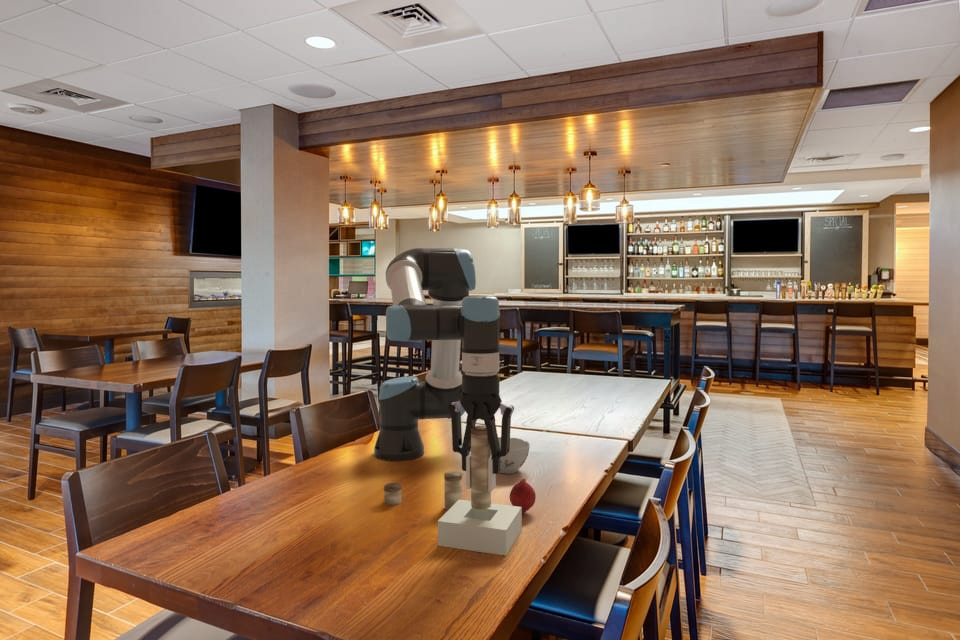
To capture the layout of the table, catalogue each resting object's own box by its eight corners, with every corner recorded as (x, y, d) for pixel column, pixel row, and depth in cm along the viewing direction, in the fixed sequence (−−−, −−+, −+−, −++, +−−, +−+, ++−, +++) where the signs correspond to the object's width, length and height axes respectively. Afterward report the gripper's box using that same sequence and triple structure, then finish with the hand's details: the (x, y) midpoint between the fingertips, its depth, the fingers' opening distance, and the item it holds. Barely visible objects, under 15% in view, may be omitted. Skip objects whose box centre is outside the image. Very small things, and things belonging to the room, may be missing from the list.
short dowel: (381, 504, 134) (380, 487, 134) (389, 498, 138) (388, 482, 137) (396, 506, 132) (396, 489, 132) (404, 500, 136) (404, 483, 136)
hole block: (438, 545, 112) (437, 520, 112) (459, 521, 123) (458, 499, 123) (506, 555, 108) (506, 530, 107) (521, 530, 119) (521, 506, 119)
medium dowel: (441, 510, 130) (441, 475, 130) (448, 503, 134) (448, 470, 134) (458, 512, 129) (458, 477, 128) (464, 505, 133) (464, 472, 132)
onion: (528, 520, 124) (528, 484, 124) (505, 514, 127) (505, 479, 127) (539, 511, 129) (539, 476, 129) (517, 506, 132) (517, 472, 132)
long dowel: (468, 508, 114) (467, 429, 113) (474, 500, 118) (474, 424, 117) (487, 510, 112) (487, 430, 112) (493, 503, 116) (493, 426, 116)
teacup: (516, 481, 150) (516, 451, 149) (476, 473, 156) (475, 444, 156) (541, 466, 162) (541, 438, 162) (502, 459, 169) (502, 432, 168)
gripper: (434, 373, 113) (435, 489, 114) (517, 377, 108) (517, 498, 109) (447, 368, 120) (448, 477, 121) (526, 372, 115) (526, 486, 116)
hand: (481, 487), depth 115 cm, fingers closed on long dowel, 4 cm apart
